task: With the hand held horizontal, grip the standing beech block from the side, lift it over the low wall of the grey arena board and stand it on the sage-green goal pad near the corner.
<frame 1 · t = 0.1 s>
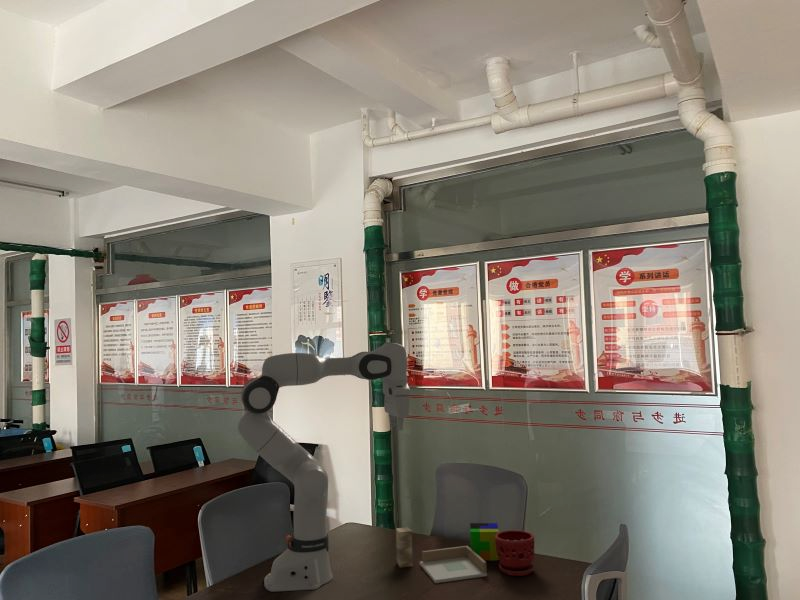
hand: (396, 428, 216), 48 cm above the table, tool pointing down, fingers open, 8 cm apart
beech block: (404, 564, 215), on the table
arena: (452, 570, 209), on the table
puzzle toy: (485, 556, 222), on the table
plant pot: (515, 571, 207), on the table
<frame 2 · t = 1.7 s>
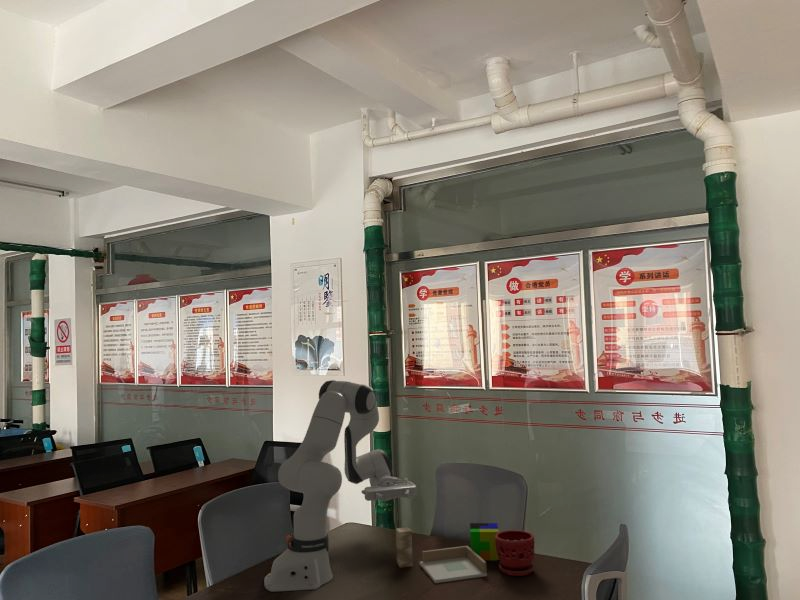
hand: (394, 497, 228), 20 cm above the table, tool horizontal, fingers open, 8 cm apart
nothing on the table moved.
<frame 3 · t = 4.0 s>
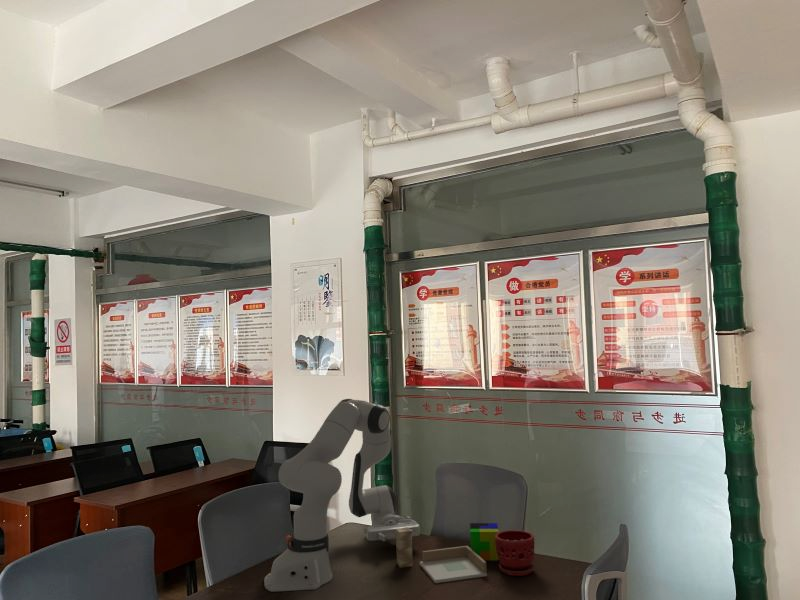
hand: (398, 537, 223), 7 cm above the table, tool horizontal, fingers open, 8 cm apart
nothing on the table moved.
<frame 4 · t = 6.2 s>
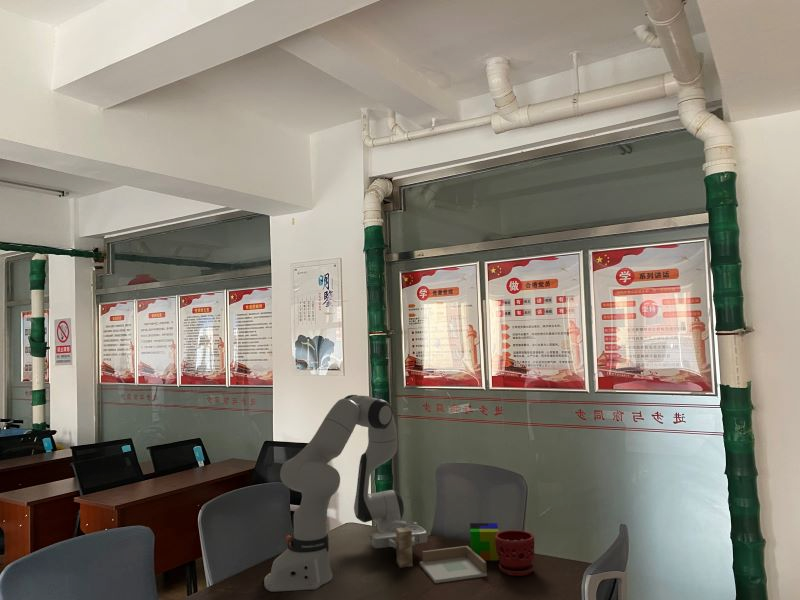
hand: (404, 544, 215), 7 cm above the table, tool horizontal, fingers closed on beech block, 4 cm apart
beech block: (404, 564, 215), on the table, touching gripper
everything else where it was.
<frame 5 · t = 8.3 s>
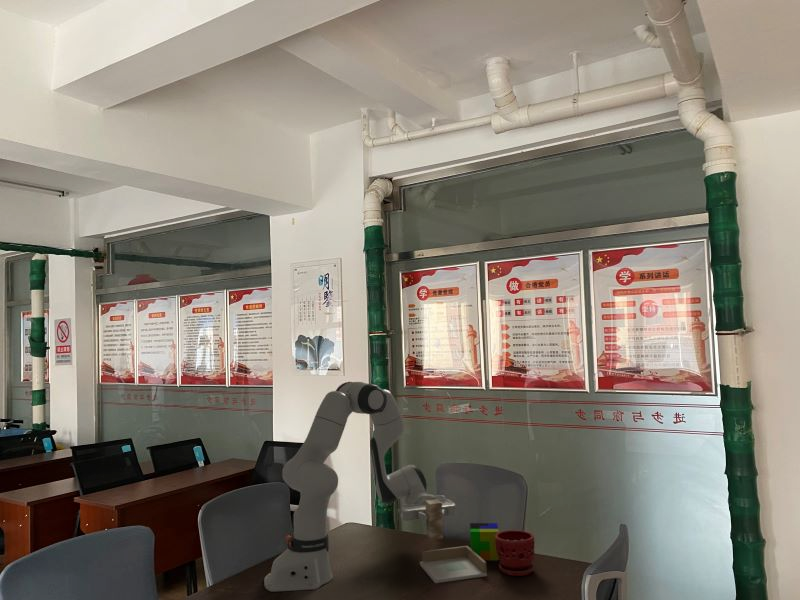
hand: (435, 516, 213), 17 cm above the table, tool horizontal, fingers closed on beech block, 4 cm apart
beech block: (434, 536, 213), point 10 cm above the table, touching gripper
everything else where it was.
when the fingers open (9 cm above the table, at t = 10.6 s): beech block drops 1 cm, resting on arena.
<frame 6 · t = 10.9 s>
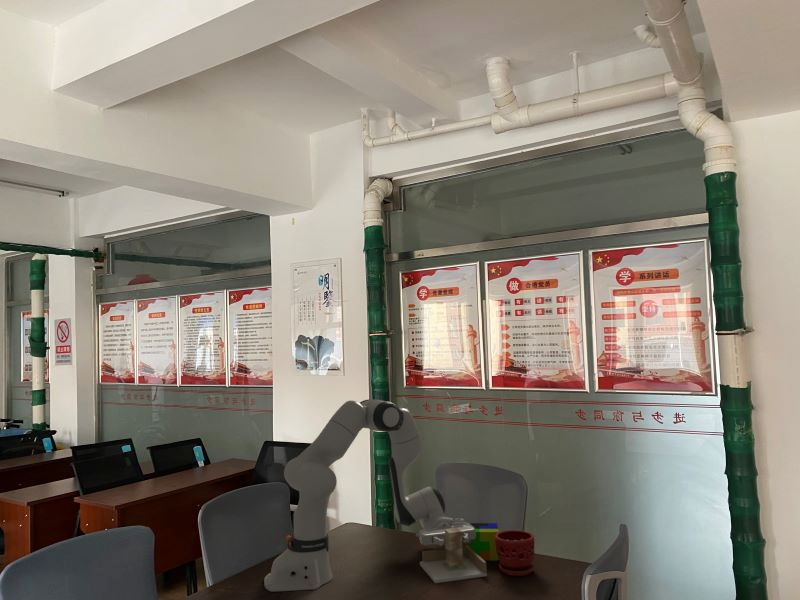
hand: (454, 541, 209), 9 cm above the table, tool horizontal, fingers open, 8 cm apart
beech block: (454, 566, 210), point 1 cm above the table, touching arena
everything else where it was.
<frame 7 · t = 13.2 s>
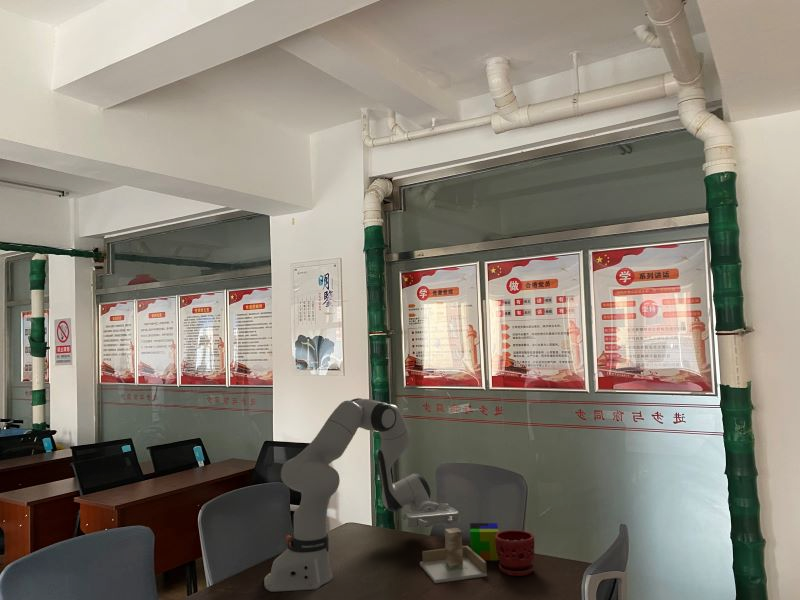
hand: (438, 523, 222), 12 cm above the table, tool horizontal, fingers open, 8 cm apart
nothing on the table moved.
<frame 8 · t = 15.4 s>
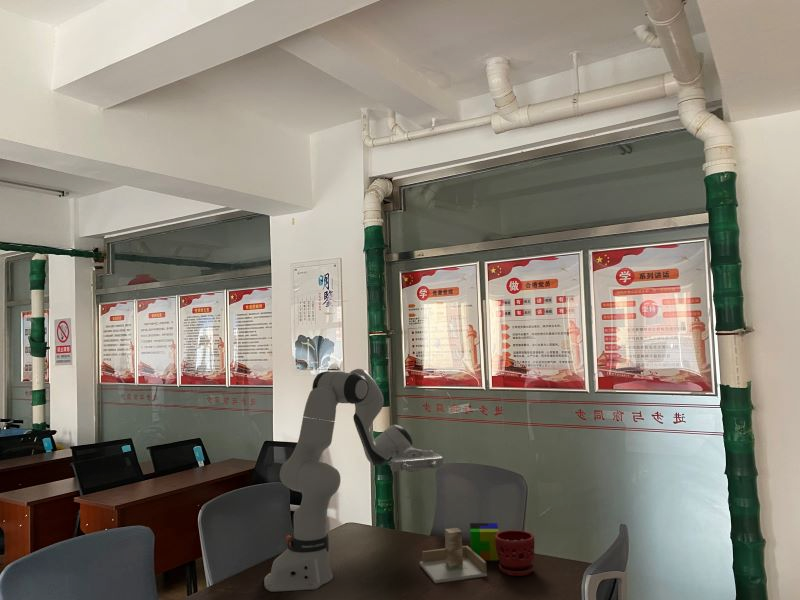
hand: (422, 467, 225), 32 cm above the table, tool horizontal, fingers open, 8 cm apart
nothing on the table moved.
at the end: beech block inside the target area (0.1 cm from its centre), point 1.0 cm above the table; beech block tilted 0°; the gripper is holding nothing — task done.
